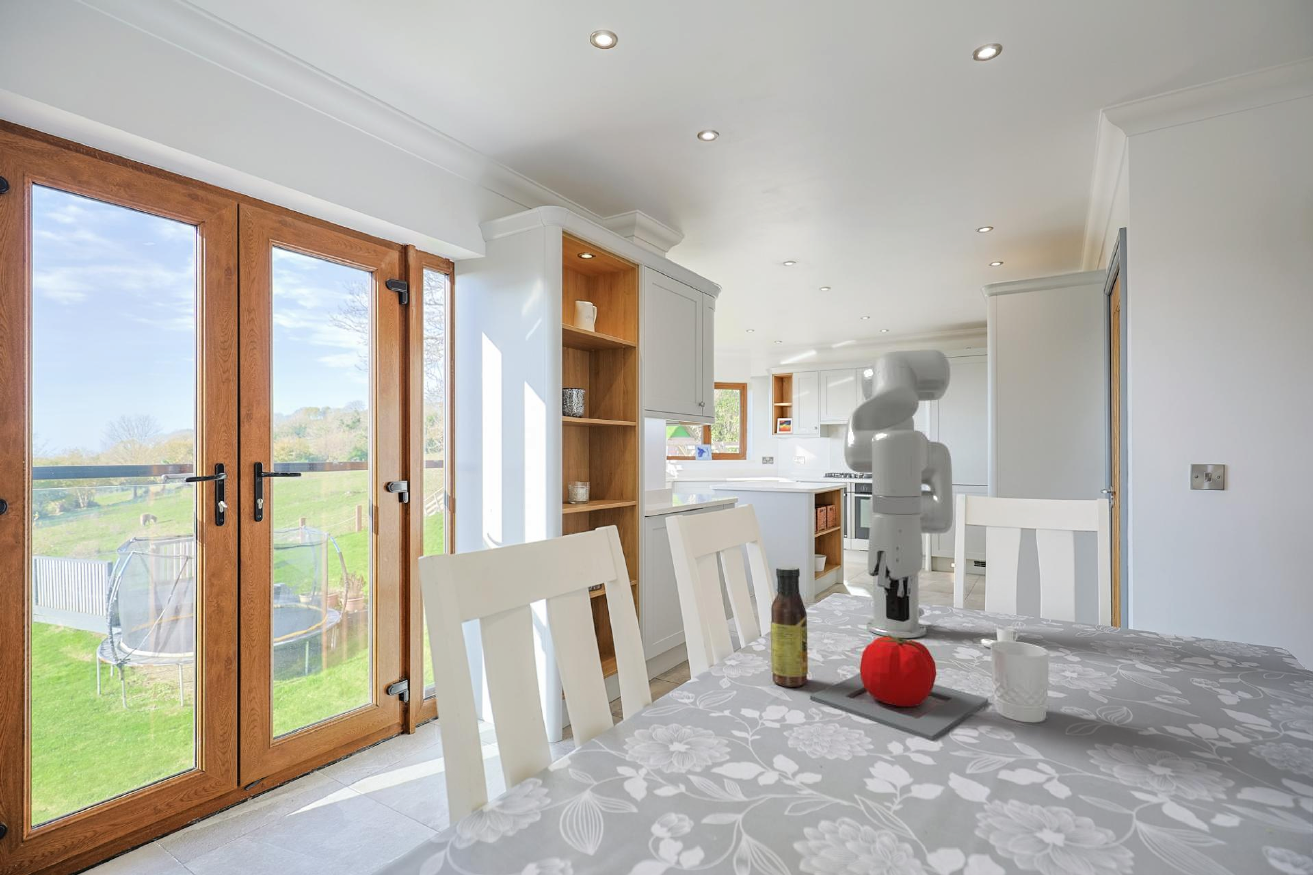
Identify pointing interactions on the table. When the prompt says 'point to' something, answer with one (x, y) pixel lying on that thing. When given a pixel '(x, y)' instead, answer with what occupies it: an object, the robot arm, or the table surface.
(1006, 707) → the white cup
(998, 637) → the teacup and saucer
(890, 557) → the robot arm
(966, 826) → the table surface
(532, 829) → the table surface
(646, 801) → the table surface
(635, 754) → the table surface
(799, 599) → the sauce bottle
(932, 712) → the gray picture frame
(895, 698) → the tomato
